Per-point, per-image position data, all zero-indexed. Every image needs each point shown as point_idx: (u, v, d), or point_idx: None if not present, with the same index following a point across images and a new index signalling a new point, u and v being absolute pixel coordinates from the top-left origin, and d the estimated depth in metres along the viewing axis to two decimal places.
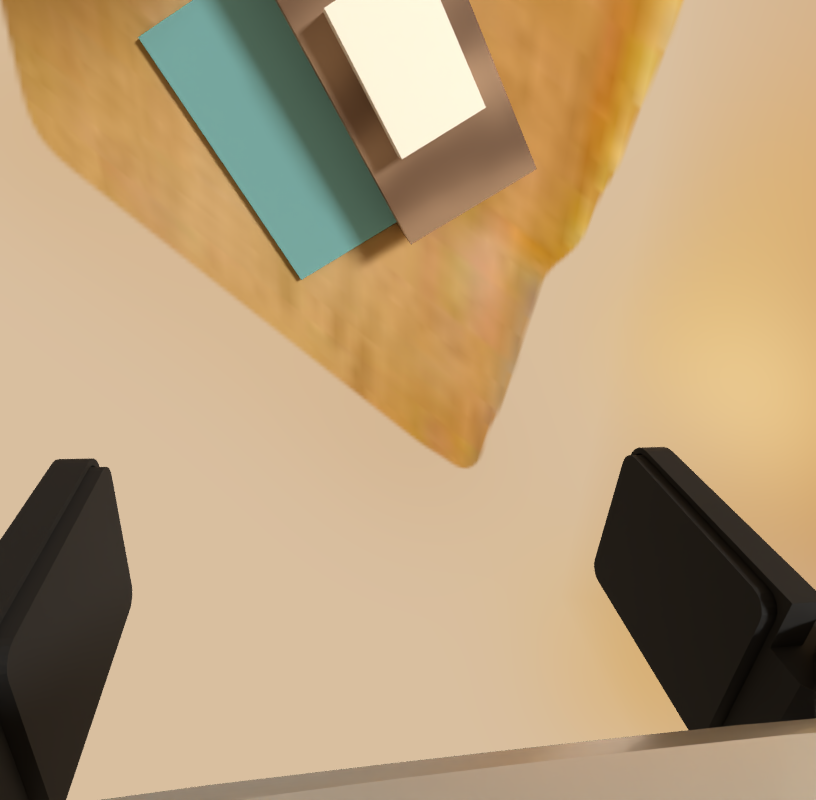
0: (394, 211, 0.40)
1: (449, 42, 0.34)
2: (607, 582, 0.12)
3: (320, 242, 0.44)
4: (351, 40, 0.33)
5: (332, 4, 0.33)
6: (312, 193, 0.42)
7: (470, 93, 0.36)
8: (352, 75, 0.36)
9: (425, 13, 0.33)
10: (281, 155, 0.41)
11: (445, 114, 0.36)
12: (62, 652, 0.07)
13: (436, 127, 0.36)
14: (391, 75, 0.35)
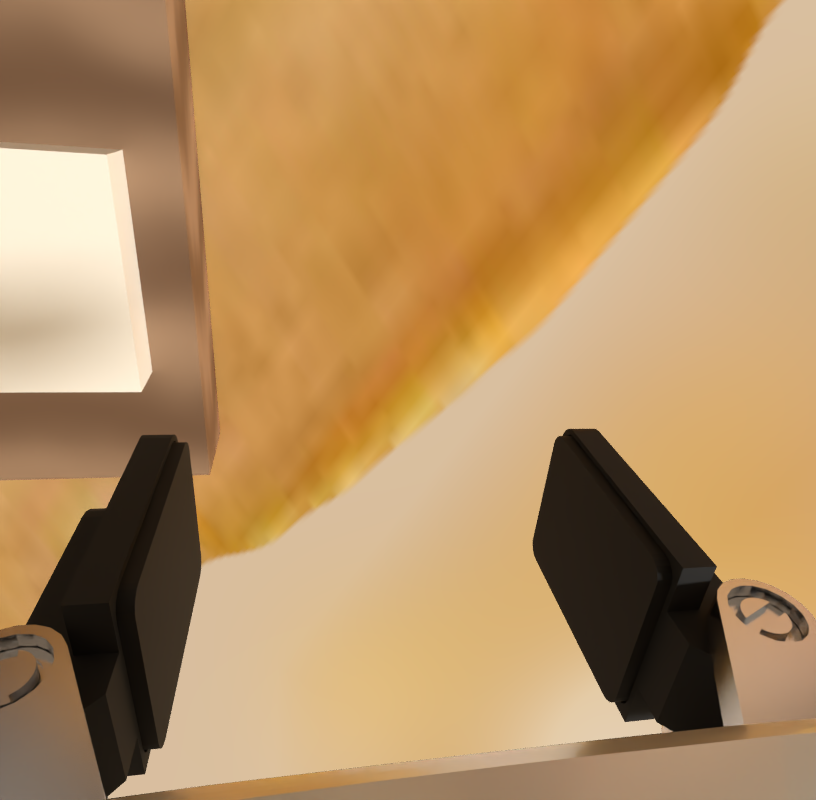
0: None
1: (113, 292, 0.22)
2: (542, 560, 0.12)
3: None
4: None
5: None
6: None
7: (124, 365, 0.23)
8: None
9: (87, 240, 0.21)
10: None
11: (72, 371, 0.23)
12: (163, 604, 0.08)
13: (52, 380, 0.23)
14: None
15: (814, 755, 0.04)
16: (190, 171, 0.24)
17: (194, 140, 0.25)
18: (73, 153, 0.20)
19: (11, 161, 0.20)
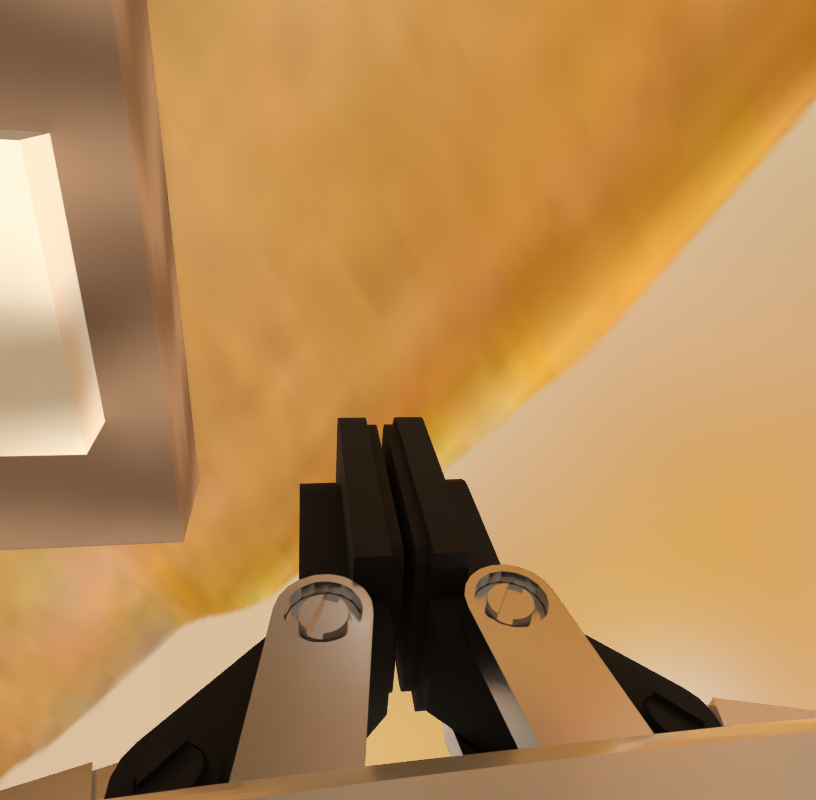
0: None
1: (41, 329, 0.16)
2: None
3: None
4: None
5: None
6: None
7: (61, 422, 0.18)
8: None
9: (0, 259, 0.15)
10: None
11: None
12: None
13: None
14: None
15: (814, 755, 0.04)
16: (149, 162, 0.18)
17: (156, 120, 0.19)
18: None
19: None
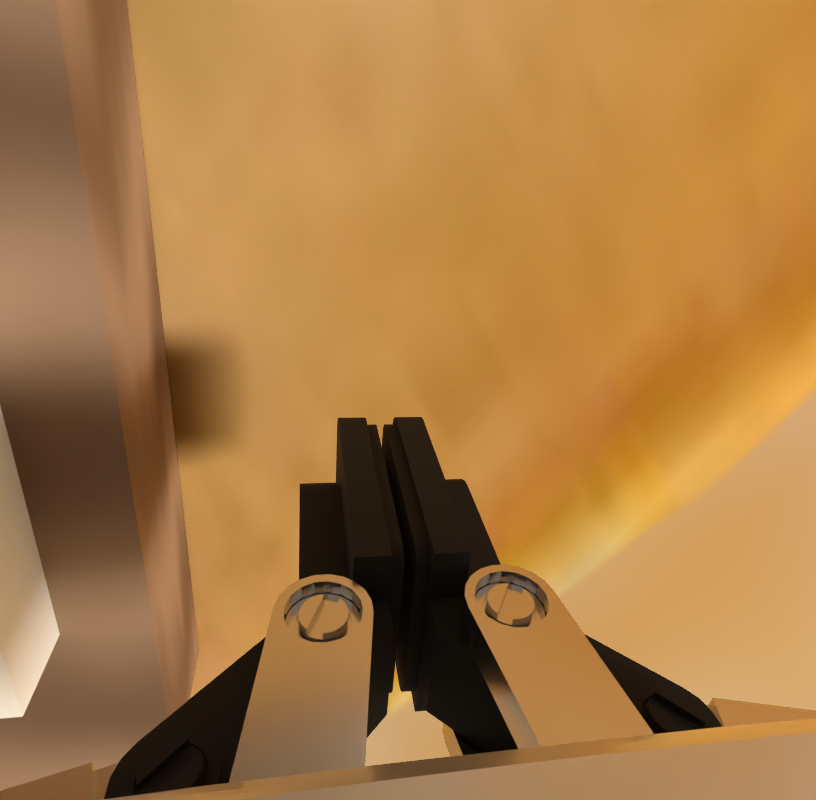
0: None
1: None
2: None
3: None
4: None
5: None
6: None
7: None
8: None
9: None
10: None
11: None
12: None
13: None
14: None
15: (814, 755, 0.04)
16: (130, 257, 0.12)
17: (142, 189, 0.13)
18: None
19: None
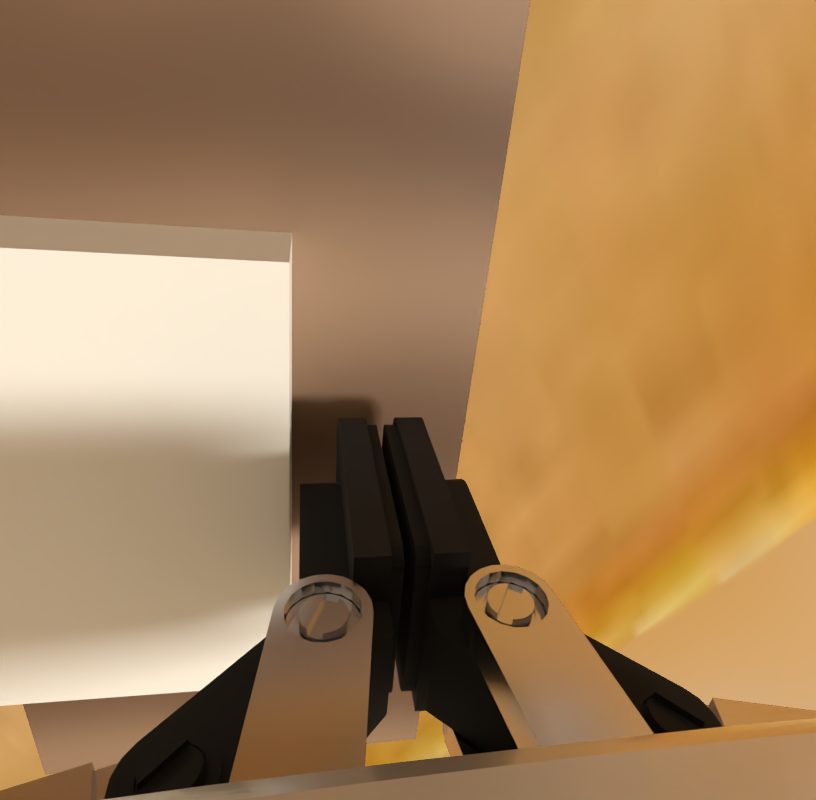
0: (29, 711, 0.14)
1: (262, 530, 0.10)
2: None
3: None
4: None
5: None
6: None
7: None
8: None
9: (222, 438, 0.09)
10: None
11: (163, 662, 0.12)
12: None
13: (124, 678, 0.12)
14: (22, 529, 0.10)
15: (814, 755, 0.04)
16: None
17: None
18: (213, 260, 0.08)
19: (64, 280, 0.08)
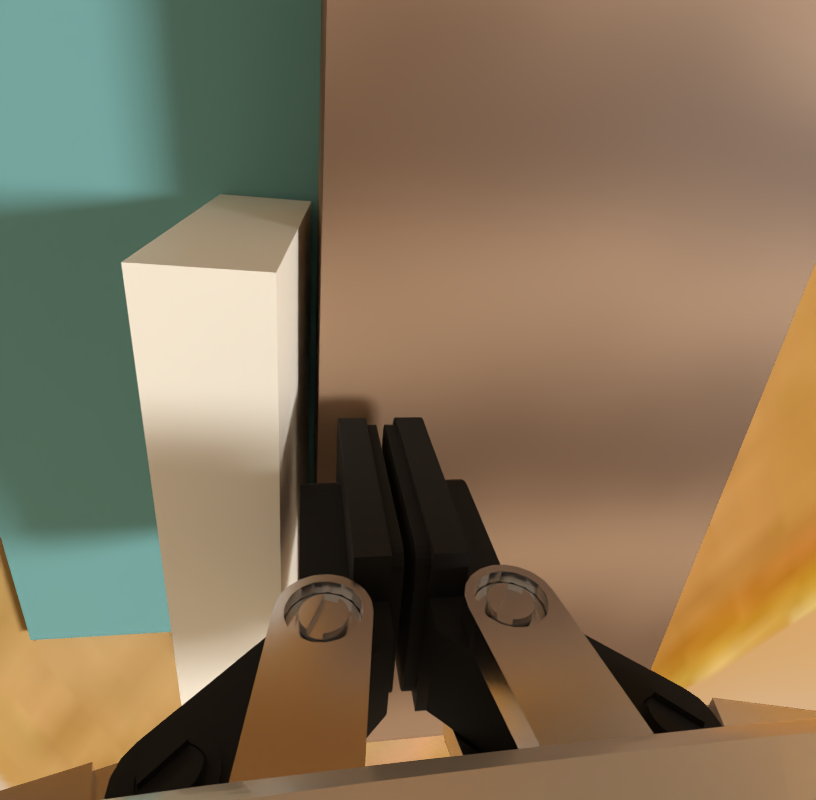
0: None
1: None
2: None
3: (120, 596, 0.18)
4: None
5: (215, 201, 0.13)
6: None
7: None
8: (408, 416, 0.12)
9: None
10: (127, 410, 0.15)
11: None
12: None
13: None
14: None
15: (814, 755, 0.04)
16: None
17: None
18: (146, 246, 0.09)
19: None
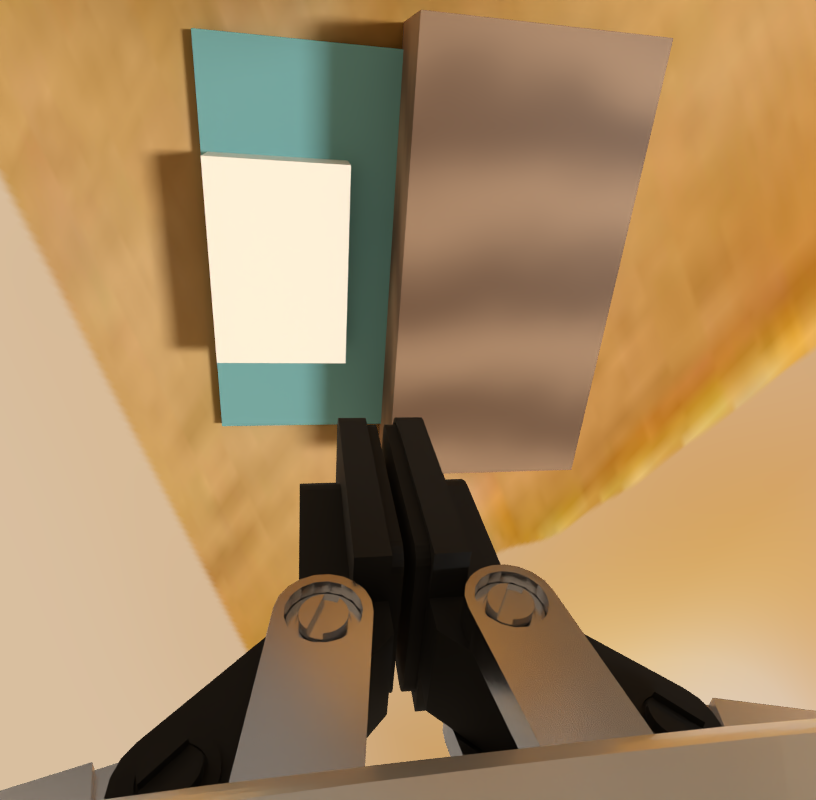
0: None
1: None
2: None
3: (274, 398, 0.31)
4: None
5: (336, 161, 0.26)
6: None
7: None
8: (444, 264, 0.25)
9: None
10: None
11: None
12: None
13: None
14: None
15: (814, 755, 0.04)
16: None
17: None
18: (232, 153, 0.25)
19: None
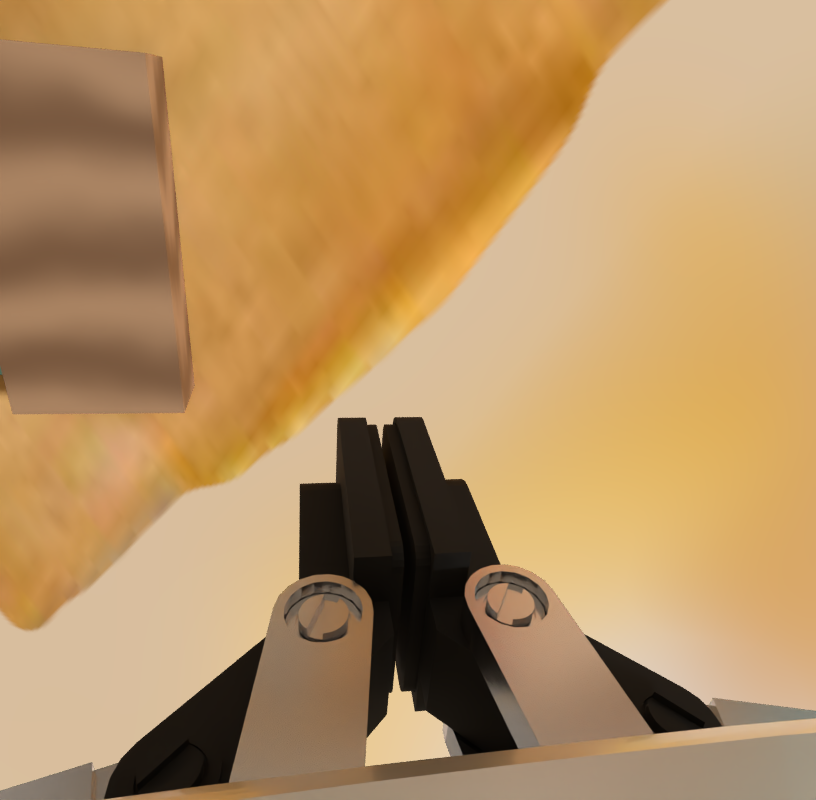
0: (4, 376, 0.35)
1: None
2: None
3: None
4: None
5: None
6: None
7: None
8: (4, 235, 0.31)
9: None
10: None
11: None
12: None
13: None
14: None
15: (814, 755, 0.04)
16: (167, 184, 0.33)
17: (170, 161, 0.34)
18: None
19: None
